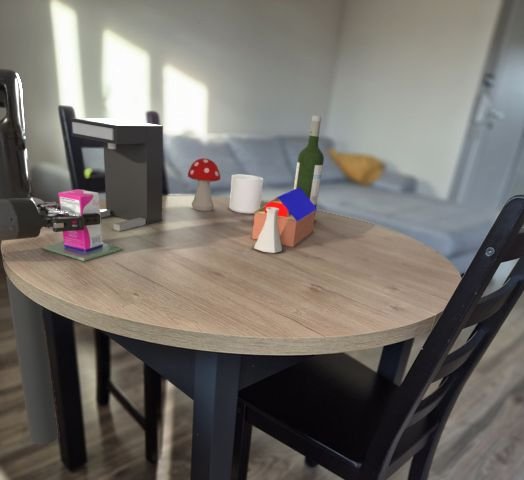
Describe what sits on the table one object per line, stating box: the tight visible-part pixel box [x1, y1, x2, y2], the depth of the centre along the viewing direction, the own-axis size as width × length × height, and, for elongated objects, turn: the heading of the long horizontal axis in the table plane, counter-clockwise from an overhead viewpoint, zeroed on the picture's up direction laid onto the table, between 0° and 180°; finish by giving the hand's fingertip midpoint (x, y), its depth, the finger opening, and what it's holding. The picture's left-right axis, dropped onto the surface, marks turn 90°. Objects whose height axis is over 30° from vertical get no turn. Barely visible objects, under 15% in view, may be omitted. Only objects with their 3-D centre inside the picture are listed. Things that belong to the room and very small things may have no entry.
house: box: [251, 187, 318, 248], centre depth 131 cm, size 12×20×12 cm, turn 160°
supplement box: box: [58, 188, 103, 252], centre depth 101 cm, size 6×6×12 cm
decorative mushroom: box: [187, 157, 221, 212], centre depth 148 cm, size 10×9×15 cm
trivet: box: [43, 241, 122, 262], centre depth 104 cm, size 11×11×1 cm
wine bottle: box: [293, 114, 325, 220], centre depth 147 cm, size 8×8×30 cm
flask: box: [253, 207, 283, 254], centre depth 117 cm, size 7×7×10 cm
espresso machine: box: [69, 117, 164, 232], centre depth 123 cm, size 14×18×24 cm
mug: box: [228, 173, 264, 215], centre depth 156 cm, size 13×10×10 cm
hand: (90, 213), depth 102 cm, fingers open, 8 cm apart
